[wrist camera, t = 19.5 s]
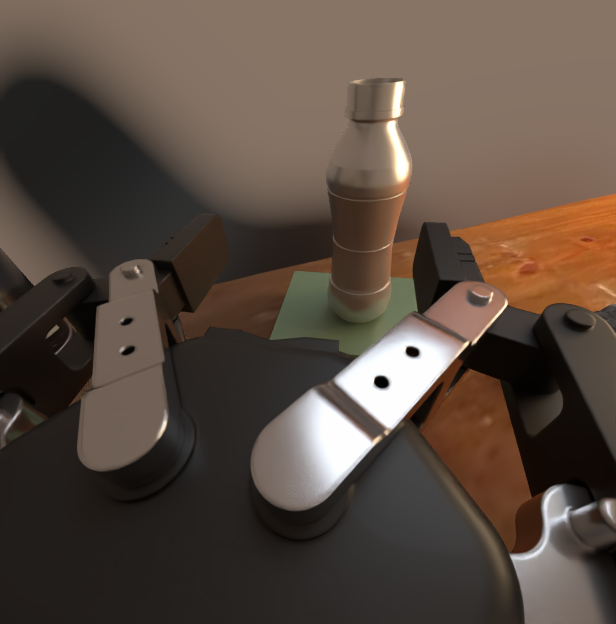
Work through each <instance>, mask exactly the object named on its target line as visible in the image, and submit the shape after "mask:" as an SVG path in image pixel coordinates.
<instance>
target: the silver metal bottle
mask: <svg viewBox="0 0 616 624" xmlns="http://www.w3.org/2000/svg"><path fill="white" fill-rule="evenodd" d="M405 88H406V79H402V78H375V79H363V80H355V81H351V82H349V86H348V95H347V107H346V108H345V117H347V118H349V124H348V128H347V129H346V130H345V132H344V133H343V135H342V136H341V138H340V140H339V141H338V142H337V144H336V146H335V148H334V150H333V151H332V153H331V155H330V157H329V161H328V164H327V168H326V182H327V186H328V188H327V189H328V195H329V202H330V209H331V215H332V227H333V228H332V229H333V258H332V269H331V274H330V278H329V282H328V289H327V296H328V300H329V304H330V307H331V309H332V311H333V312H334V313H335V314H336V315H337V316H338V317H340V318H341V319H343V320H345V321H348V322H352V323H366V322H369V321H372V320H374V319H376V318H377V317H379V316H380V315H381V314H383V312H384V311H385V310H386V308H387V305H388V303H389V301H390V298H391V277H390V270H391V255H392V246H393V241H394V235H395V232H396V227H397V222H398V218H399V215H400V211H401V209H402V206H403V203H404V199H405V196H406V193H407V190H408V185H409V184H410V179H411V175H412V170H413V168H412V158H411V154H410V151H409V149H408V146H407V144H406V141H405V139H404V137H403V135H402V133H401V131H400V129H399V127H398V116H401V115H403V111H404V105H403V101H404V94H405Z"/></svg>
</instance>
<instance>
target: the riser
mask: <svg viewBox="0 0 616 624" xmlns="http://www.w3.org/2000/svg"><path fill="white" fill-rule="evenodd" d="M330 274H331V273H317V272H302V271H295V272H294V275H293V277H292V280H291V283H290V285H289V288H288V291H287V293H286V296H285V299H284V302H283V304H282V307H281V310H280V312H279V315H278V318H277V320H276V323H275V326H274V328H273V331H272V334H271V337H270V339H269V340H277V339H288V338H299V337H312V338H321V339H331V340H339V351H341V352H344V353H346V354H348V355H351V356H353V357H354V358H358V357H359V356H360V355H361V354H362V353H363V352H365V351H366V350H367V349H368V348H369V347H370V346H372V345H373V344H374V343H375V342H376V341H377V340H379V339H380V338H381V337H382V336H383V335H384V334H386V333H387V332H388V331H389V330H390V329H391V328H393V327H394V326H395V325H396V324H397V323H398V322H400V321H401V320H402V319H403V318H404V317H405V316H407V315H408V314H409V313H410V312H412V311H417V312H418V310H417V303H416V295H415V288H414V281H413V279H409V278H394V277H391V298H390V301H389V303H388V305H387V308H386V310H385V311H384V312H383V314H381V315H380V316H379V317H377V318H376V319H374V320H372V321H369V322H366V323H352V322H348V321H345V320H343V319H341V318H340V317H338V316H337V315H336V314H335V313H334V312H333V311H332V309H331V307H330V304H329V300H328V296H327V289H328V282H329V278H330Z"/></svg>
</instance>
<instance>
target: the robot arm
mask: <svg viewBox="0 0 616 624" xmlns="http://www.w3.org/2000/svg"><path fill="white" fill-rule="evenodd" d="M229 257H230V251H229V246H228V242H227V238H226V235H225V231H224V227H223V223H222V220H221V218H220V216H219V215H217V214H198V215H197V216H196V217H195V218H194V219H193V220H192V221H191V222H190V223H189V224H188V225H187V226H186V227H184V228H182V229H180V230H178V231H177V232H176V233H175V234H174V235H173V236H172V237H171V239H169V240H168V241H166V243H165V245H162V246H161V247H160V248H159V249H158V250H157V251H156V252H155V253H154V254H153V255H152V256H151V257H150V258H149V259H148V260H145V259H138V260H132V261H128V262H125V263H123V264H121V265H119V266H117V267H116V268H114V269H113V270H112V271H111V273H110V275H109V277H107V278H99V279H92V277H91V276H90V275H89V273H88V272H87V270H86V269H85V268H82V267H71V268H66V269H63V270H60V271H57V272H55V273H53V274H51V275H49V276H48V277H46V278H45V279H43V280H42V281H41V282H40V283H38V284H37V285H36V286H34V285H33V284H32V283H31V282H30V281H29V280H28V279H27V278H26V276H25V275H24V274H23V273H22V272H21V271H20V270H19V269H18V267H17V266H16V265H15V264H14V263H13V262H12V261H11V259H10V258H9V257H8V256H7V255H6V254H5V253H4V252H3V250H1V248H0V624H616V333H615V332H614V330H613V329H612V328H611V326H610V325H609V324H608V322H606V321H605V320H604V319H603V318H602V317H600V316H599V315H597V314H596V313H594V312H592V311H590V310H588V309H585V308H583V307H580V306H576V305H572V304H565V303H556V304H552V305H549V306H547V307H546V308H545V309H544V311H543V312H542V314H541V315H539V314H536V313H532V312H528V311H525V310H521V309H517V308H514V307H511V306H509V305H507V303H508V302H507V298H506V296H505V295H504V294H503V293H502V292H501V291H500V290H499V289H497V288H496V287H494V286H492V285H490V284H487V283H485V282H484V279H483V277H482V275H481V272H480V270H479V268H478V265H477V263H476V262H475V258H474V256H473V255H472V251H471V249H470V247H469V245H468V244H467V243H466V242H465V241H463V240H462V239H461V238H460V237H451V235H450V232H449V229H448V227H447V224H446V223H435V222H424V223H423V225H422V228H421V232H420V237H419V241H418V245H417V249H416V253H415V257H414V262H413V281H414V288H415V295H416V303H417V310H418V312H417V311H412V312H410V313H409V314H408V315H407V316H405V317H404V318H403V319H402V320H401V321H400V322H398V323H397V324H396V325H395V326H394V327H393V328H391V329H390V330H389V331H388V332H387V333H386V334H384V335H383V336H382V337H381V338H380V339H379V340H377V341H376V342H375V343H374V344H373V345H372V346H370V347H369V348H368V349H367V350H366V351H365V352H363V353H362V354H361V355H360V356H359V357H358V358H354V357H353V356H351V355H348V354H346V353H344V352H341V351H339V340H331V339H321V338H312V337H299V338H288V339H277V340H268V339H264V338H261V337H258V336H256V335H253V334H250V333H247V332H244V331H241V330H235V329H225V328H216V327H209V328H208V330H207V332H206V333H205V335H204V337H197V338H193V339H189V340H186V338H185V334H184V330H183V326H182V323H181V320H180V318H179V316H178V314H179V313H180V311H182V312H192V313H194V312H195V310H196V309H197V308H198V306H199V305H200V303H201V302H202V300H203V299H204V297H205V296H206V294H207V293H208V291H209V290H210V288H211V287H212V285H213V284H214V282H215V281H216V279H217V278H218V276H219V275H220V274H221V272H222V271H223V269H224V267H225V266H226V265H227V263H228V261H229ZM64 317H66V318H67V319H68V320H69V322H70V323H71V324H72V325H73V326H74V327H75V328H76V330H77V331H78V332H77V333H76V334H75V331H74V329H73V328H72V327H71V326H70V325H69V324H68V323H67V322H66V321H64V319H63V318H64ZM470 369H472V370H475V371H478V372H480V373H483V374H486V375H489V376H491V377H494V378H497V379H500V382H501V386H502V390H503V393H504V397H505V401H506V404H507V408H508V412H509V415H510V419H511V423H512V426H513V430H514V434H515V437H516V441H517V445H518V448H519V452H520V455H521V459H522V463H523V466H524V470H525V474H526V477H527V481H528V485H529V488H530V492H531V496H532V498H531V499H530V500H528V501H526V502H525V503H523V504H522V505H521V506H520V507H519V509H518V510H517V513H516V519H515V524H516V543H515V546H514V549H513V550H512V552H511V553H509V552H508V550H507V548H506V546H505V544H504V542H503V541H502V539H501V537H500V535H499V534H498V532H497V530H496V529H495V527H494V526H493V524H492V523H491V522H490V520H489V519H488V518H487V516H486V515H485V514H484V513H483V511H482V510H481V509H480V508H479V506H478V505H477V504H476V502H475V501H474V500H473V499H472V497H471V496H470V495H469V494H468V492H467V491H466V490H465V488H464V487H463V486H462V485H461V483H460V482H459V481H458V480H457V478H456V477H455V476H454V474H453V473H452V472H451V471H450V469H449V468H448V467H447V466H446V464H445V463H444V462H443V460H442V459H441V458H440V457H439V455H438V454H437V453H436V452H435V450H434V449H433V448H432V446H431V445H430V444H429V443H428V441H427V440H426V439H425V438H424V436H423V435H422V434H421V433H422V432H423V430H424V429H425V428H426V426H427V425H428V424H429V422H430V421H431V419H432V418H433V417H434V415H435V413H436V412H437V410H438V409H439V408H440V406H441V405H442V404H443V402H444V401H445V400H446V399H447V397H448V396H449V395H450V394H451V392H452V391H453V390H454V389H455V388H456V386H457V385H458V384H459V383H460V381H461V380H462V379H463V378H464V376H465V375H466V374H467V373H468V372H469V370H470ZM91 376H92V386H91V388H90V390H88V391H86V392H85V393H84V395H83V397H82V399H81V400H79V401H77V402H76V403H74V404H72V405H70V406H69V404H70V403H71V402H72V401H73V399H74V398H75V397H76V395H77V394H78V393H79V392H80V390H81V389H82V388H83V387H84V385H85V384H86V383H87V381H88V380H89V379H90V378H91ZM68 406H69V407H68Z"/></svg>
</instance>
